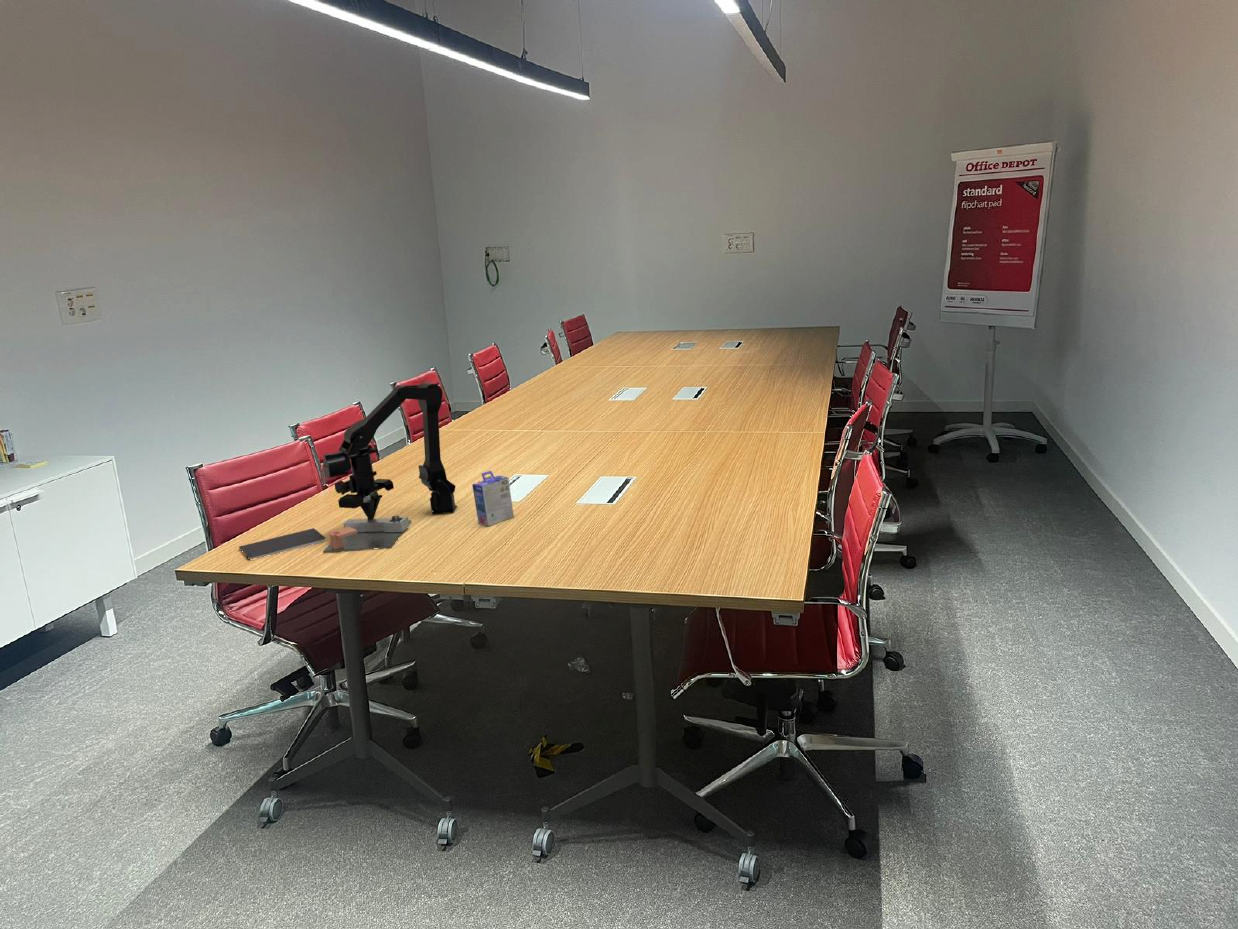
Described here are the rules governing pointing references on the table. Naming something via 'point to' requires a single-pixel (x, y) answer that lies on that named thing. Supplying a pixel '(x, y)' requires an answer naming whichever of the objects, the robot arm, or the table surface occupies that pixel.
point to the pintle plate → (369, 540)
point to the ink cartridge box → (493, 499)
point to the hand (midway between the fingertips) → (371, 521)
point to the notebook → (282, 543)
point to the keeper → (340, 536)
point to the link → (377, 524)
